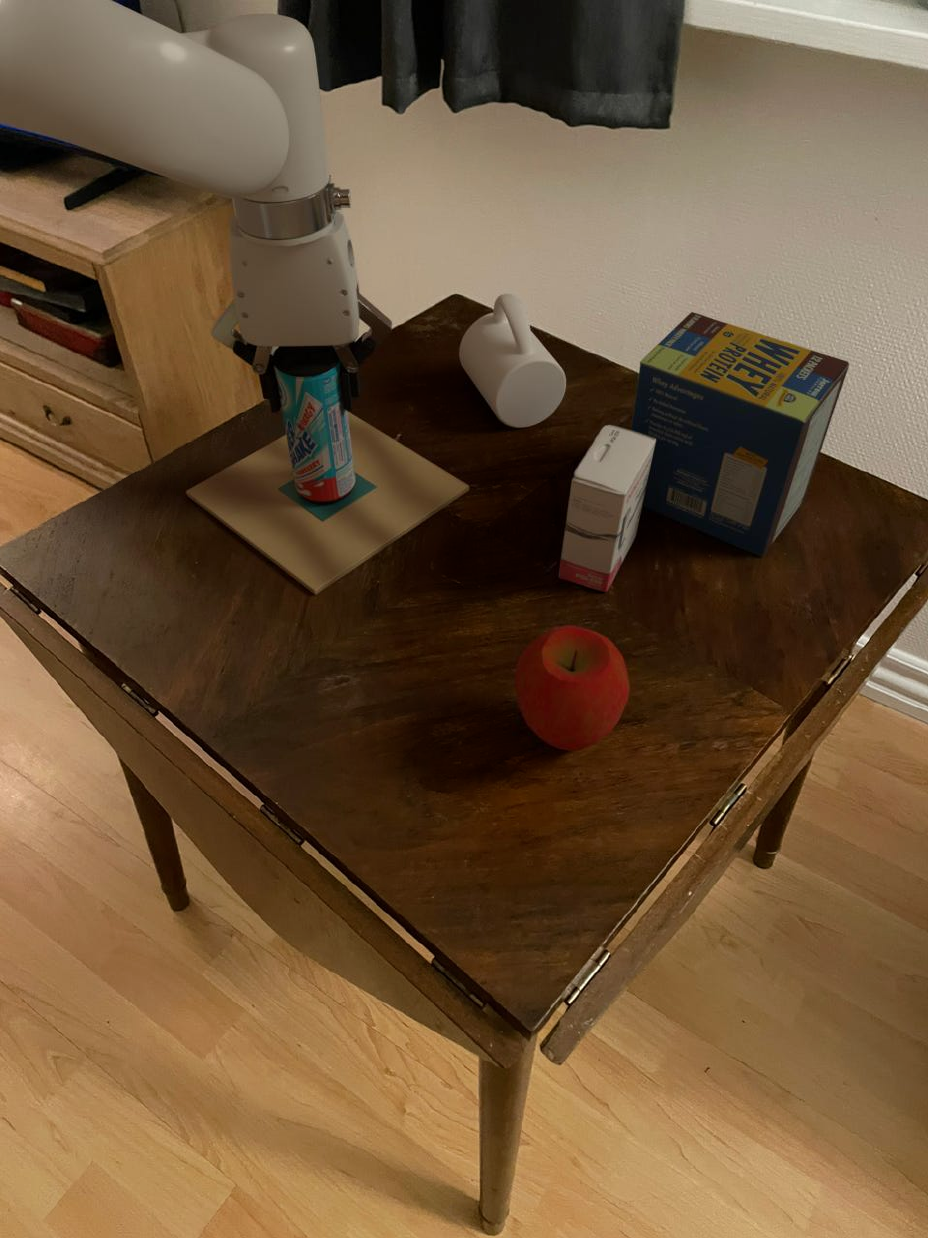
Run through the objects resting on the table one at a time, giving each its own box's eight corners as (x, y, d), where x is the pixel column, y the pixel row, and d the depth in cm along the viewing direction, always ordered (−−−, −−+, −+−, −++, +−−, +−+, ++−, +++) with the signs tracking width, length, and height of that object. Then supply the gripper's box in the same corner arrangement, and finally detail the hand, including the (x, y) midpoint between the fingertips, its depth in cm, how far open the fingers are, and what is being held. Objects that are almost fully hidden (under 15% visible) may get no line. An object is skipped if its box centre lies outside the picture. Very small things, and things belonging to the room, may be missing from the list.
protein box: (665, 444, 98) (690, 309, 86) (806, 499, 92) (853, 361, 80) (616, 498, 92) (636, 360, 81) (763, 560, 86) (807, 421, 75)
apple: (490, 722, 74) (491, 632, 66) (576, 677, 77) (587, 586, 69) (552, 802, 69) (562, 715, 61) (642, 751, 72) (662, 662, 64)
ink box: (609, 596, 83) (625, 494, 74) (556, 579, 85) (566, 477, 76) (640, 536, 88) (658, 434, 80) (589, 521, 90) (602, 419, 81)
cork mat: (315, 595, 84) (314, 589, 83) (186, 495, 93) (185, 490, 92) (469, 490, 93) (469, 484, 93) (338, 409, 103) (337, 404, 102)
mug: (493, 436, 99) (495, 335, 90) (458, 384, 105) (457, 285, 97) (564, 419, 101) (572, 318, 92) (525, 369, 107) (530, 270, 99)
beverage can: (292, 474, 94) (268, 341, 83) (350, 464, 95) (334, 332, 84) (300, 512, 90) (276, 377, 79) (361, 501, 91) (345, 367, 80)
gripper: (396, 183, 74) (408, 378, 88) (180, 186, 74) (225, 381, 88) (393, 226, 69) (407, 426, 83) (162, 230, 69) (212, 429, 83)
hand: (313, 401), depth 85 cm, fingers closed on beverage can, 5 cm apart
